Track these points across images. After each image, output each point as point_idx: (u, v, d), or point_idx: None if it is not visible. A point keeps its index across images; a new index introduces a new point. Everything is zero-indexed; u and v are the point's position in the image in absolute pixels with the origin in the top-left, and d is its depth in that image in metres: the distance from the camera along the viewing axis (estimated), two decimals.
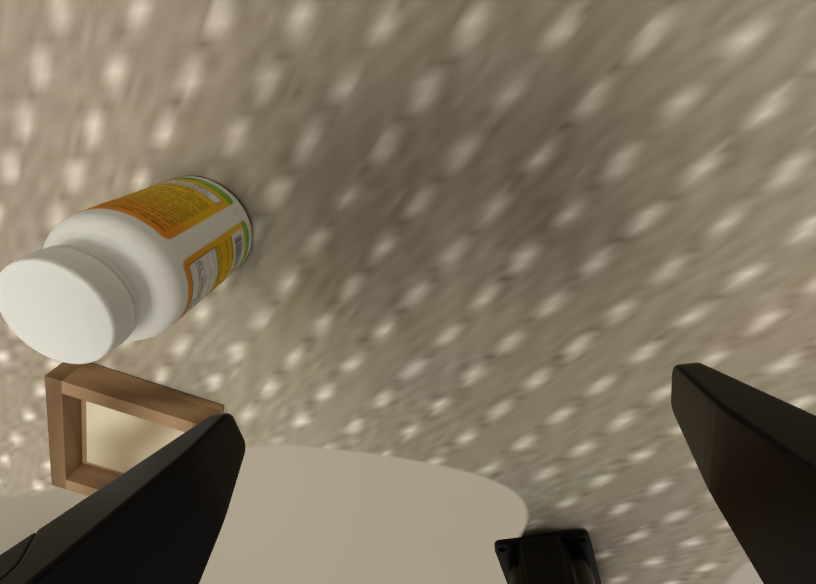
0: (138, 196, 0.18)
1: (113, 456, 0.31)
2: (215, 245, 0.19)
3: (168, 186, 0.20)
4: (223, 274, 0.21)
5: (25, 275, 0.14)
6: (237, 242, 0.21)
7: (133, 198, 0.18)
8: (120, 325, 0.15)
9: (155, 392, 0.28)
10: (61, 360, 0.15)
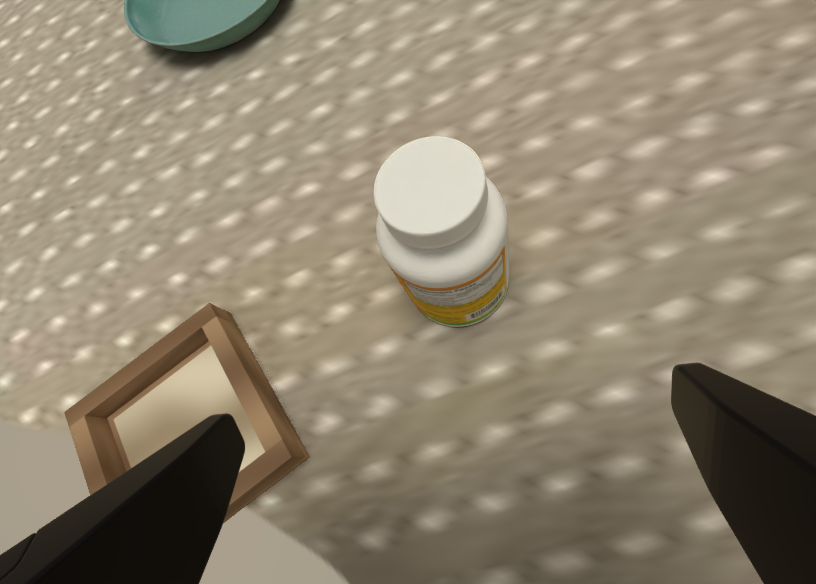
0: None
1: (144, 432, 0.25)
2: (503, 272, 0.20)
3: None
4: (478, 303, 0.20)
5: (440, 147, 0.16)
6: (499, 295, 0.21)
7: None
8: (467, 222, 0.15)
9: (267, 390, 0.24)
10: (384, 220, 0.15)
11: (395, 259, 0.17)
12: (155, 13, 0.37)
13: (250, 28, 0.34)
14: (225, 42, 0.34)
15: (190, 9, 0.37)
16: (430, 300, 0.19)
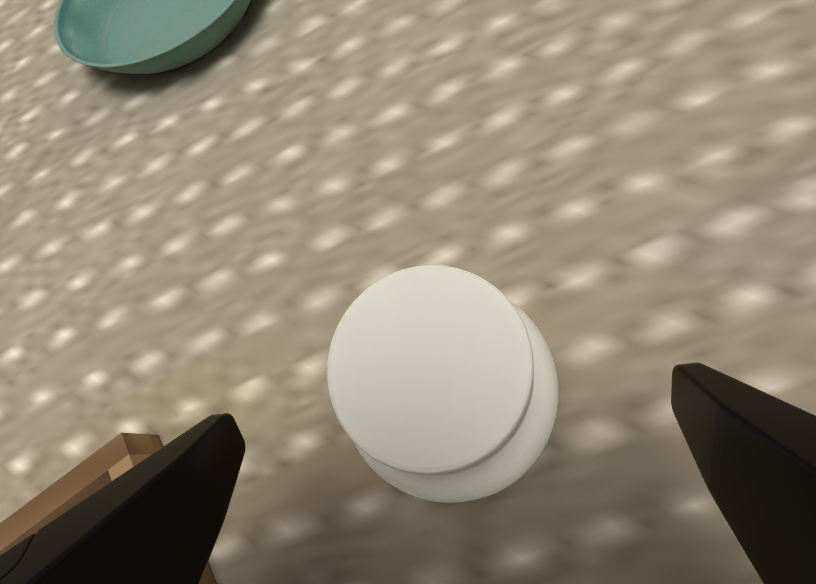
0: None
1: None
2: None
3: None
4: None
5: (448, 289, 0.09)
6: None
7: None
8: (500, 446, 0.08)
9: None
10: (344, 429, 0.08)
11: (370, 457, 0.10)
12: (97, 26, 0.31)
13: (207, 45, 0.27)
14: (175, 62, 0.27)
15: (139, 22, 0.30)
16: None
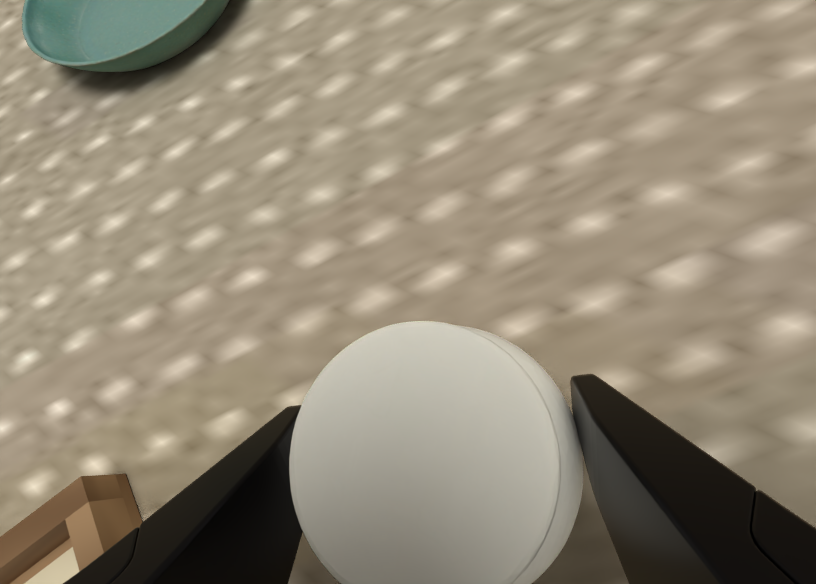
0: None
1: None
2: None
3: None
4: None
5: (445, 355, 0.07)
6: None
7: None
8: (515, 575, 0.06)
9: None
10: (309, 544, 0.06)
11: None
12: (70, 20, 0.29)
13: (186, 40, 0.25)
14: (152, 59, 0.25)
15: (114, 14, 0.28)
16: None
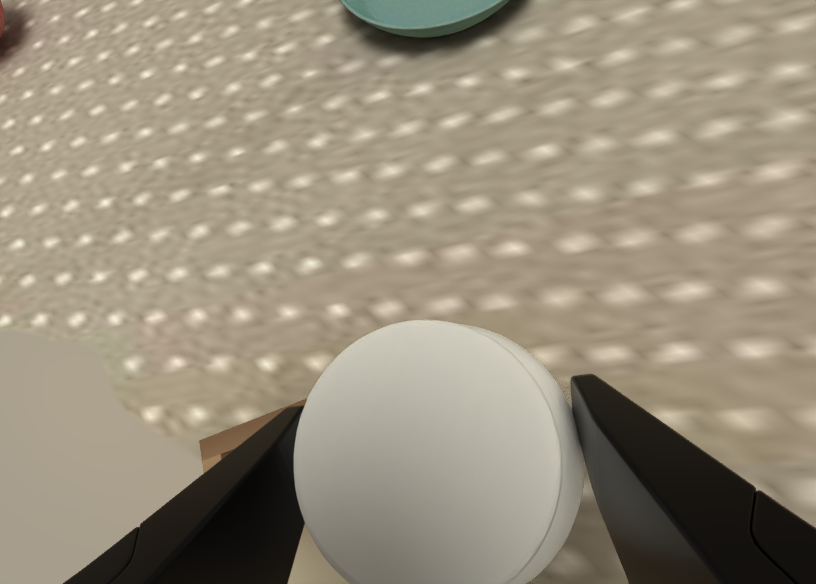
0: None
1: None
2: None
3: None
4: None
5: (448, 353, 0.07)
6: None
7: None
8: (517, 571, 0.06)
9: None
10: (314, 539, 0.06)
11: None
12: None
13: (477, 22, 0.28)
14: (444, 33, 0.28)
15: None
16: None
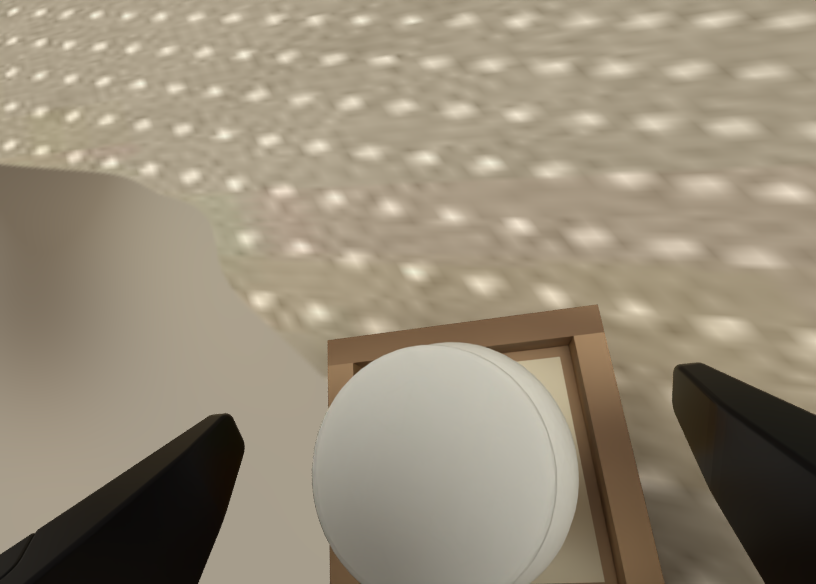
0: None
1: None
2: None
3: None
4: None
5: (453, 376, 0.07)
6: None
7: None
8: (517, 576, 0.07)
9: None
10: (332, 547, 0.07)
11: None
12: None
13: None
14: None
15: None
16: None
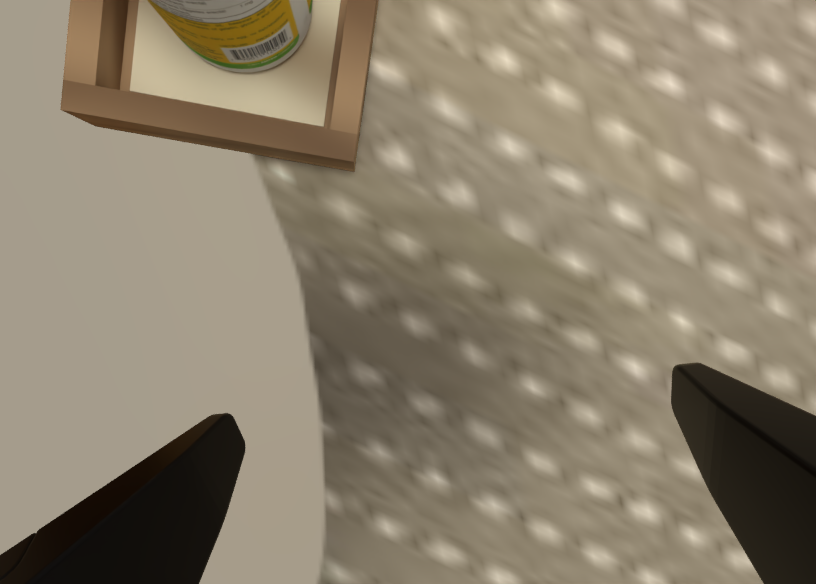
0: None
1: None
2: None
3: None
4: (237, 34, 0.14)
5: None
6: (279, 37, 0.15)
7: None
8: None
9: (368, 62, 0.17)
10: None
11: None
12: None
13: None
14: None
15: None
16: None
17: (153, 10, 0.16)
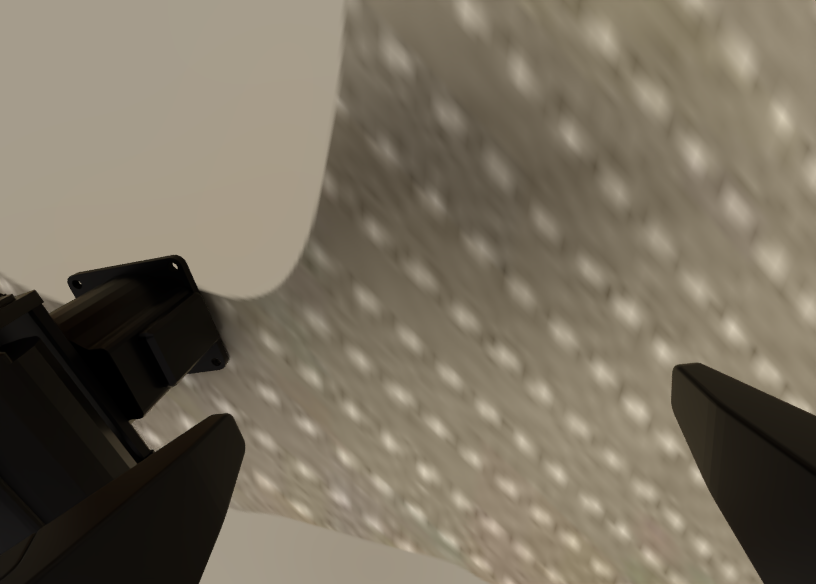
0: None
1: None
2: None
3: None
4: None
5: None
6: None
7: None
8: None
9: None
10: None
11: None
12: None
13: None
14: None
15: None
16: None
17: None
